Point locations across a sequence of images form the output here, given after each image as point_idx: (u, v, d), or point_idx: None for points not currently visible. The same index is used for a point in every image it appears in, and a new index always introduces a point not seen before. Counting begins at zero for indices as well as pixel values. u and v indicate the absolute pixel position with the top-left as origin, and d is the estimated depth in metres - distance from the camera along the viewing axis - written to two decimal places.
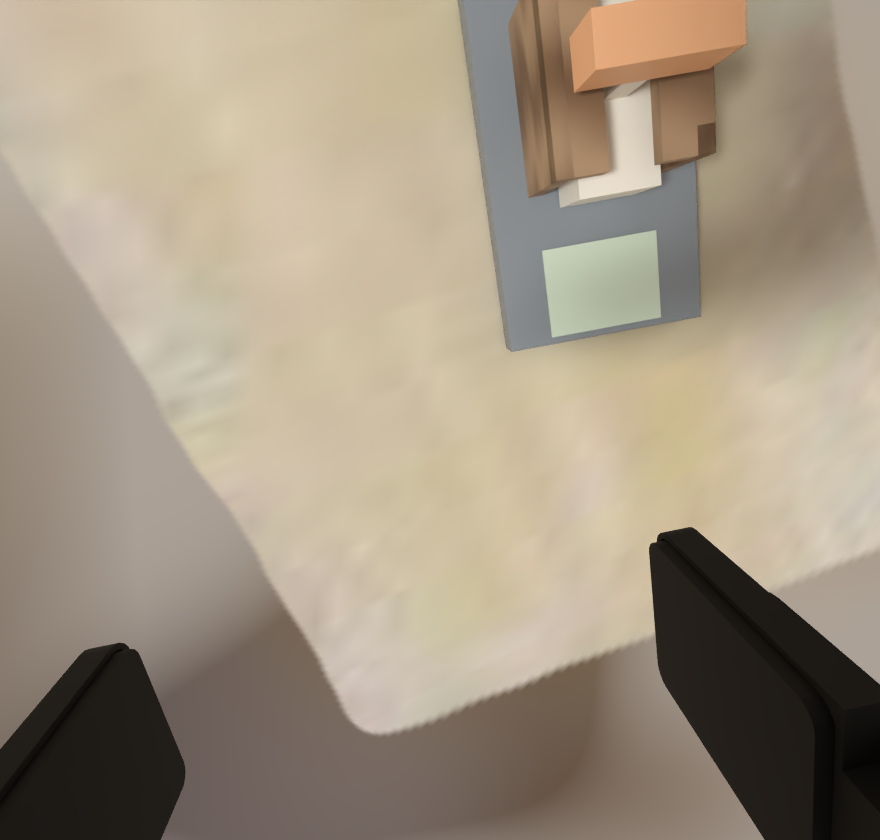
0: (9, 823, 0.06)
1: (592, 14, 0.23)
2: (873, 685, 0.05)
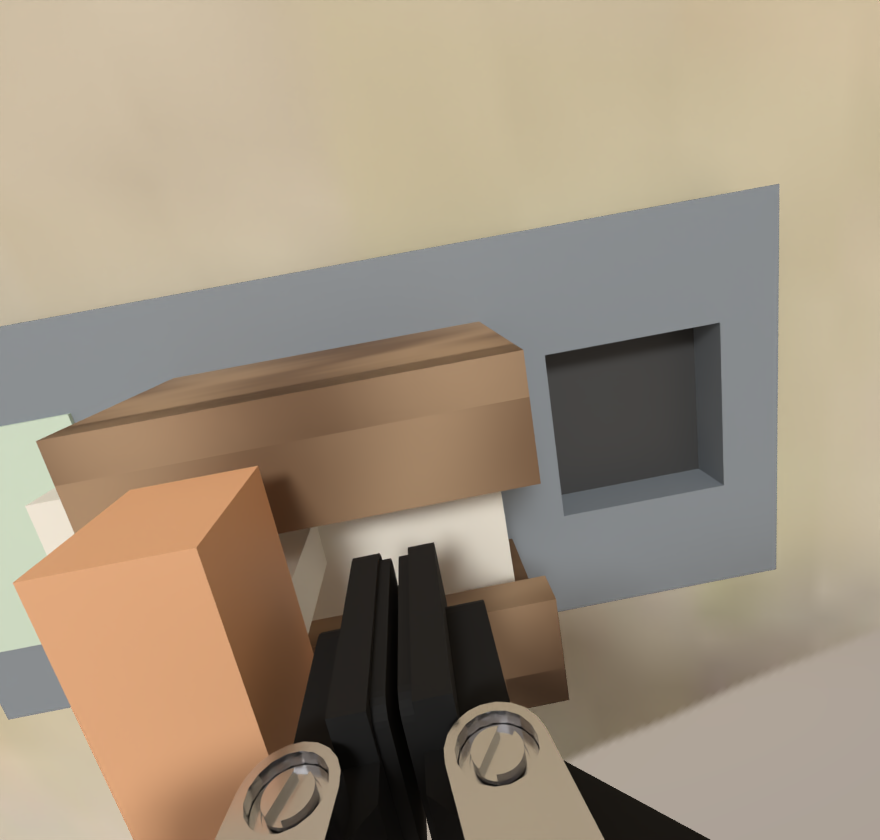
0: (387, 667, 0.07)
1: (179, 554, 0.07)
2: (450, 681, 0.06)
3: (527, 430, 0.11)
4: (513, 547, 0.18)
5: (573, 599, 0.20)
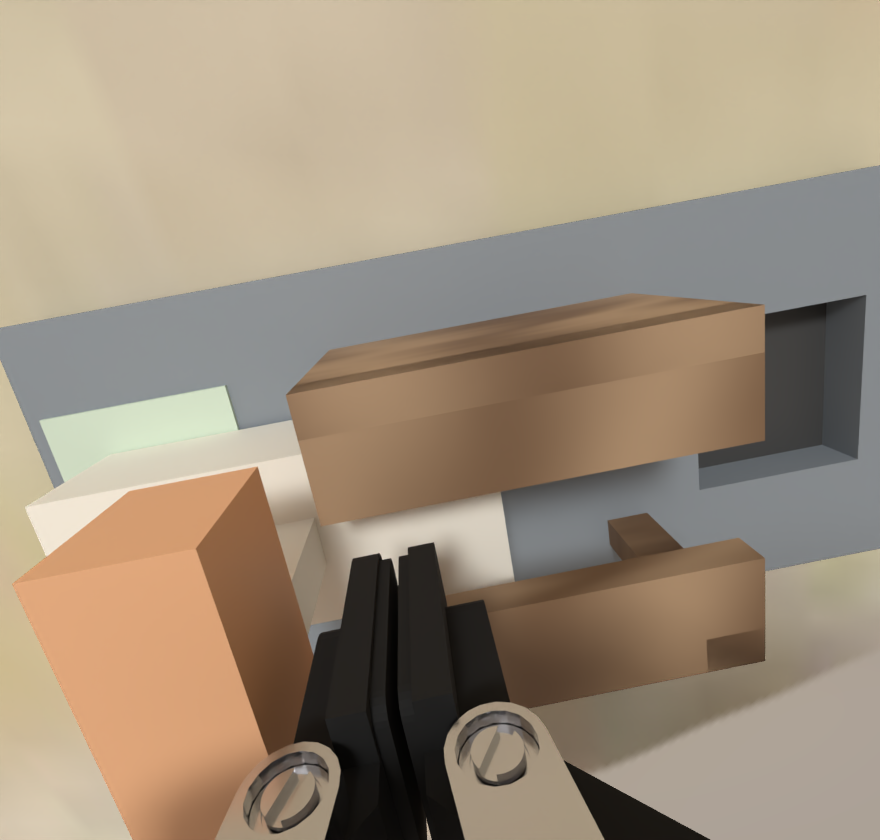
0: (387, 667, 0.07)
1: (178, 555, 0.07)
2: (450, 681, 0.07)
3: (758, 386, 0.11)
4: (652, 520, 0.19)
5: None
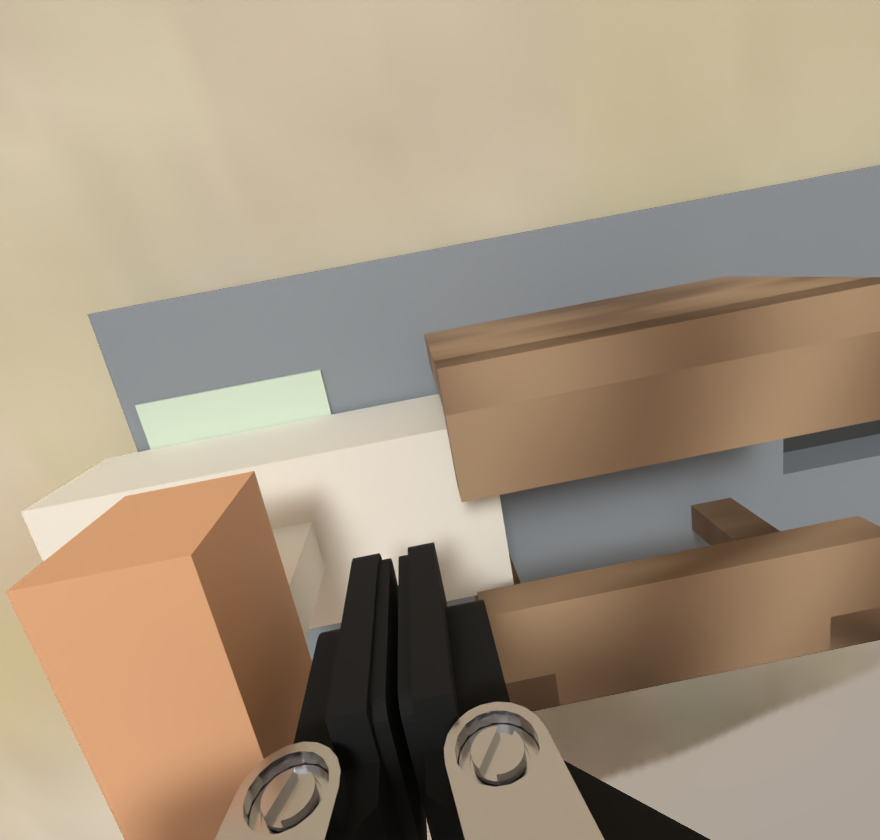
0: (387, 667, 0.07)
1: (174, 562, 0.07)
2: (450, 681, 0.07)
3: None
4: (738, 505, 0.19)
5: None
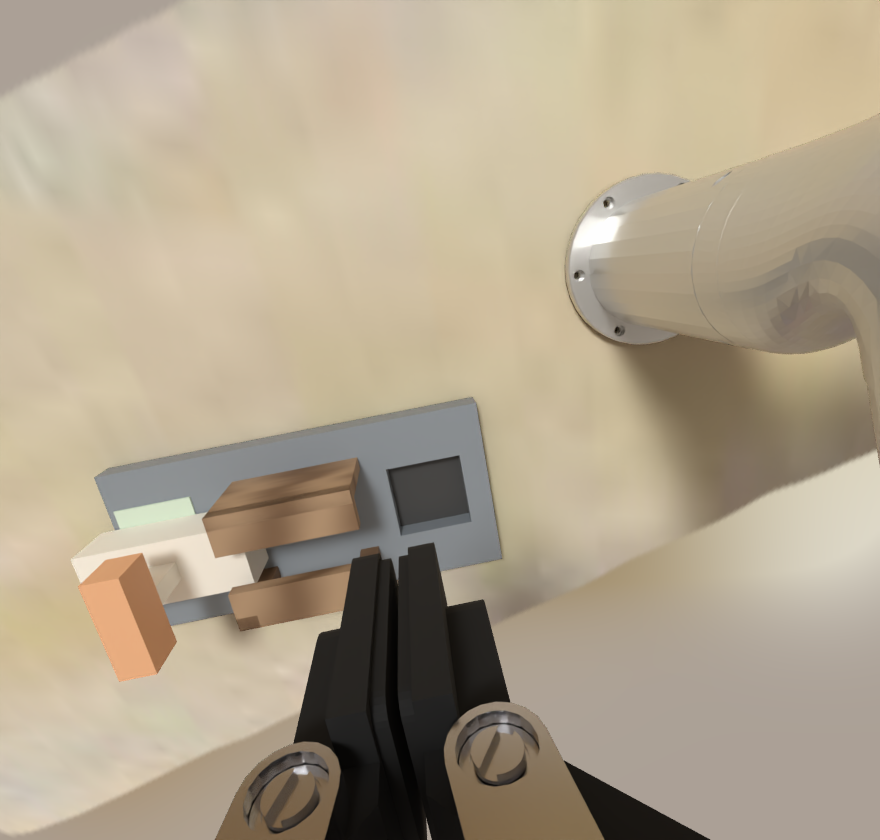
0: (387, 667, 0.07)
1: (114, 580, 0.31)
2: (450, 681, 0.07)
3: (353, 513, 0.35)
4: (377, 549, 0.43)
5: None
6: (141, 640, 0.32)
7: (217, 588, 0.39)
